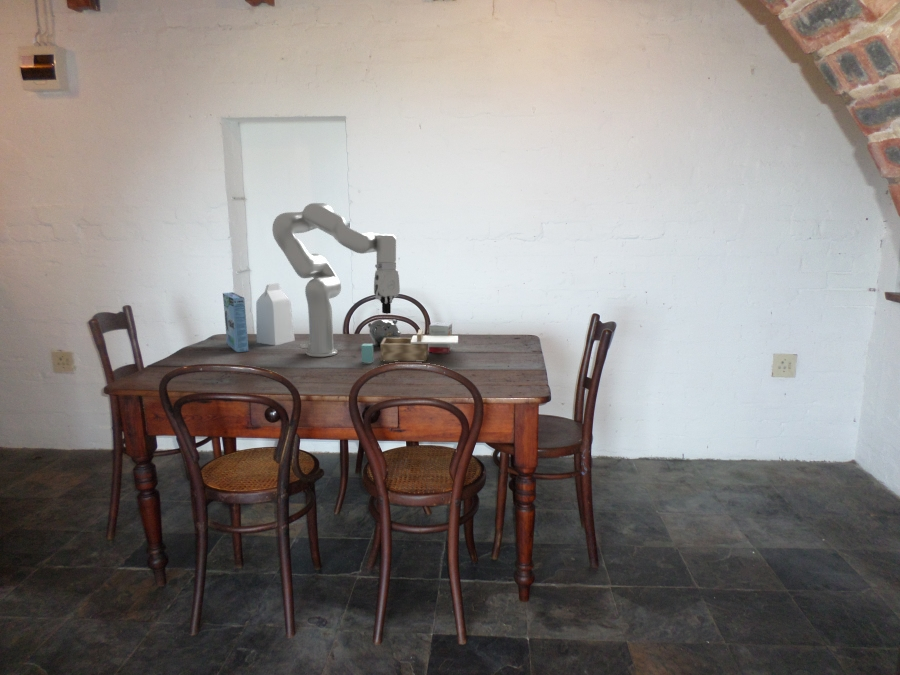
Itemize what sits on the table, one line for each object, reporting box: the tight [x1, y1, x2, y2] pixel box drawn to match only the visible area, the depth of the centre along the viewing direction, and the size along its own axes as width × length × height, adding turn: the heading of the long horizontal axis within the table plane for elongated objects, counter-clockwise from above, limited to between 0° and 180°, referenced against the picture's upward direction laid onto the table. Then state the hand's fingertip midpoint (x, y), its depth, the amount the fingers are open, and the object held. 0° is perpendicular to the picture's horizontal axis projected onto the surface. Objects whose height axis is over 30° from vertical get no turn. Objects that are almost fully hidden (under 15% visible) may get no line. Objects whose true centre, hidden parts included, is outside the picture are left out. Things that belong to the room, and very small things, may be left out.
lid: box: [411, 329, 459, 345], centre depth 253 cm, size 19×13×4 cm
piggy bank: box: [367, 318, 402, 347], centre depth 276 cm, size 11×15×12 cm
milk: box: [255, 283, 296, 346], centre depth 282 cm, size 12×12×26 cm
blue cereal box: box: [222, 291, 249, 353], centre depth 269 cm, size 20×5×23 cm, turn 31°
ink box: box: [428, 321, 453, 354], centre depth 266 cm, size 9×9×12 cm
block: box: [361, 343, 374, 363], centre depth 248 cm, size 4×4×7 cm
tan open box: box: [379, 337, 429, 363], centre depth 254 cm, size 18×12×7 cm, turn 89°
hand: (386, 313), depth 248 cm, fingers closed
